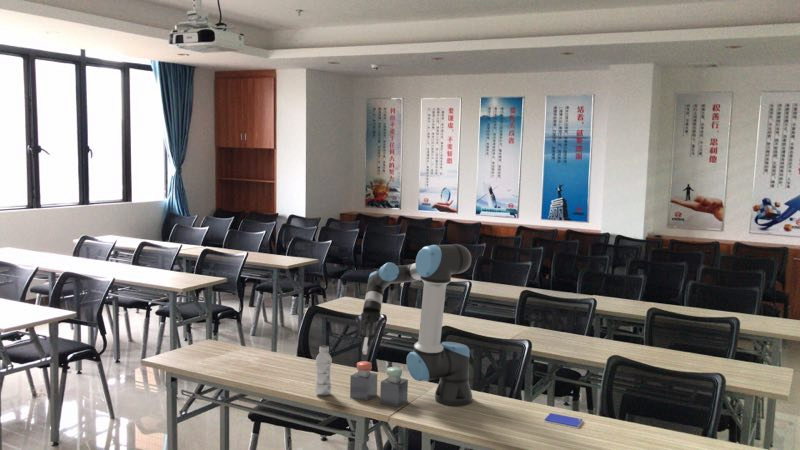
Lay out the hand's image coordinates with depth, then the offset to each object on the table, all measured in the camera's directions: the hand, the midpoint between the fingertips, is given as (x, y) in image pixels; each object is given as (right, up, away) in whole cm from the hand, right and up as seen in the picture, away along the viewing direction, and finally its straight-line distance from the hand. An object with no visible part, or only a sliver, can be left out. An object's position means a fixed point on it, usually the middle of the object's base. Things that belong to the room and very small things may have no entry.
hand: (364, 352), depth 281 cm
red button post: (0, -18, -1) cm, 18 cm away
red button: (0, -14, -1) cm, 14 cm away
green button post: (+12, -19, -7) cm, 23 cm away
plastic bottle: (-17, -17, 0) cm, 24 cm away
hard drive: (+76, -23, -22) cm, 83 cm away
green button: (+12, -15, -8) cm, 21 cm away
